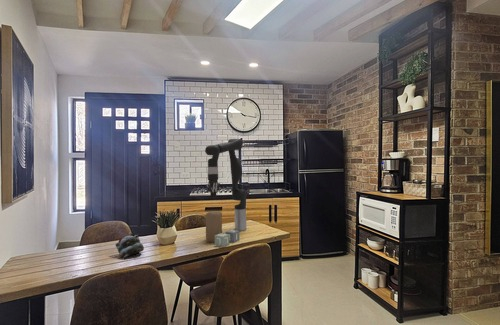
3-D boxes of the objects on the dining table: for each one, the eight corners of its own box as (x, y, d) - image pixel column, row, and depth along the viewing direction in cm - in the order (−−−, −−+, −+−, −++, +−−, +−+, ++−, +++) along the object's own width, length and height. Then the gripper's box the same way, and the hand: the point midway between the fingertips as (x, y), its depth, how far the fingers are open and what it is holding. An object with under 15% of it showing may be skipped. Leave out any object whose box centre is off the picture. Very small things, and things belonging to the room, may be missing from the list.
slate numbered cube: (231, 239, 213) (231, 229, 213) (239, 240, 209) (239, 230, 209) (225, 241, 207) (225, 231, 207) (233, 243, 203) (233, 232, 203)
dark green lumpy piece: (117, 260, 170) (111, 237, 174) (121, 262, 181) (115, 240, 185) (143, 250, 175) (136, 228, 179) (146, 252, 186) (139, 231, 190)
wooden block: (222, 238, 214) (221, 211, 214) (219, 242, 204) (219, 214, 204) (209, 238, 215) (208, 211, 215) (205, 242, 205) (205, 214, 205)
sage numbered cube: (221, 243, 203) (221, 232, 203) (229, 244, 199) (229, 234, 199) (214, 245, 197) (214, 235, 197) (223, 247, 193) (222, 236, 193)
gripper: (215, 172, 217) (215, 196, 217) (202, 173, 206) (202, 198, 206) (223, 172, 213) (223, 196, 213) (210, 173, 201) (211, 198, 201)
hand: (213, 197), depth 209 cm, fingers closed
